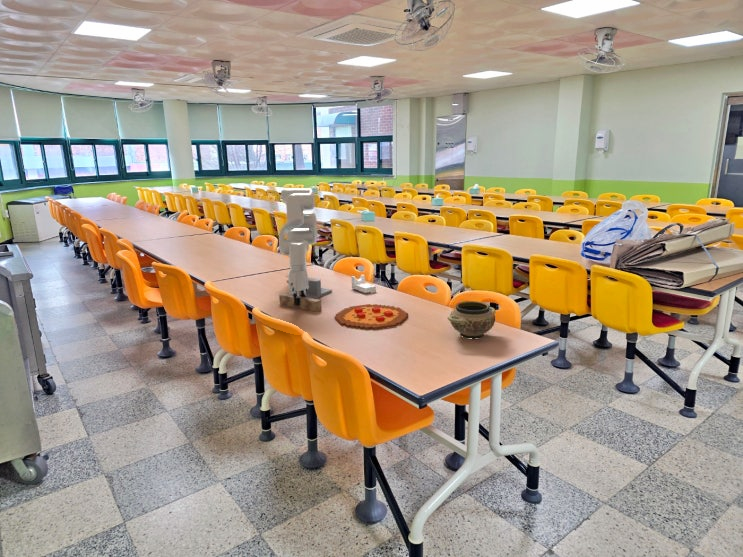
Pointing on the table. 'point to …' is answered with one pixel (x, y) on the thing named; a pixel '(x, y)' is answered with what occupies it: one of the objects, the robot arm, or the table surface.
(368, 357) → the table surface
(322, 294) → the balance stand
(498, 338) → the table surface
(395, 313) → the pizza
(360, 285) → the bracket
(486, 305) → the ceramic bowl
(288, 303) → the brown wooden bar
